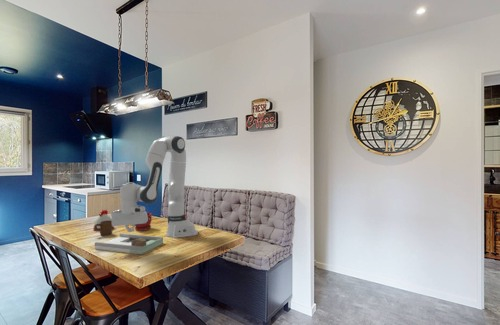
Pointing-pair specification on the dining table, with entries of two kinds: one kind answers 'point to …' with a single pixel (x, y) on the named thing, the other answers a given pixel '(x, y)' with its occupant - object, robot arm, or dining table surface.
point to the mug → (104, 228)
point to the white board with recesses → (123, 243)
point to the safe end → (148, 246)
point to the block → (138, 242)
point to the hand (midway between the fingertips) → (130, 231)
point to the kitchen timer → (102, 218)
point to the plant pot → (145, 225)
